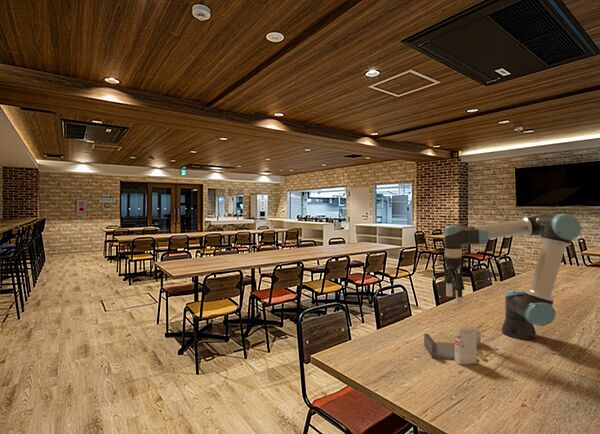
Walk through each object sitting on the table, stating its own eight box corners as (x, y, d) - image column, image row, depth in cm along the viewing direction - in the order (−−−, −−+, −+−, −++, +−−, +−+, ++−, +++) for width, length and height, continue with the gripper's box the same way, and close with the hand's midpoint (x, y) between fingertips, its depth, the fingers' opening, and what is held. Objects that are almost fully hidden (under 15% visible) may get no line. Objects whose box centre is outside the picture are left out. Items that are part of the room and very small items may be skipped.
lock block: (475, 341, 166) (475, 327, 166) (480, 346, 160) (480, 331, 160) (457, 340, 167) (457, 326, 167) (461, 345, 161) (461, 331, 161)
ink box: (454, 361, 144) (454, 327, 144) (471, 360, 145) (471, 326, 145) (459, 364, 141) (459, 330, 140) (476, 363, 142) (476, 329, 141)
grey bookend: (463, 347, 158) (463, 334, 158) (474, 359, 146) (474, 346, 145) (424, 346, 160) (424, 333, 160) (432, 358, 147) (431, 344, 147)
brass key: (472, 352, 153) (472, 349, 153) (480, 352, 153) (480, 350, 153) (480, 360, 145) (480, 357, 145) (489, 361, 144) (489, 358, 144)
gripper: (437, 253, 176) (438, 293, 177) (454, 260, 152) (455, 307, 152) (452, 253, 176) (453, 293, 176) (471, 260, 151) (472, 307, 151)
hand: (454, 299), depth 164 cm, fingers open, 13 cm apart
